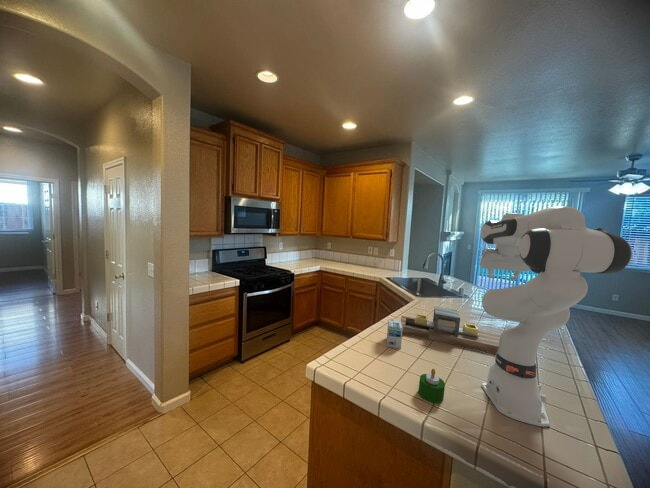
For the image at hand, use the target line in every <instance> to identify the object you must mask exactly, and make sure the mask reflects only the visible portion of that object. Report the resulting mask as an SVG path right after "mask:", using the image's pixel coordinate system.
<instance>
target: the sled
mask: <svg viewBox="0 0 650 488" xmlns="http://www.w3.org/2000/svg"><path fill="white" fill-rule="evenodd" d="M415 318H416V319H415V325H420V326H425V327H430V328H434V321H435V320H434V321H433V320H432V322H429V321H430V320H428V316H427V315H422V314H419V313H418V314H417V313H416V316H415ZM455 326H456V324H455ZM462 327H463V328H459V333H460V334H465V335H470V336H475V337H479V335H478V330H479V328H478V326H477V325H476V324H471V323H465V322H463V326H462ZM437 330H440V331H445V332H449V333H454V334H455V328H450V327H445V326H440V325H437Z"/></svg>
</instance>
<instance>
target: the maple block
mask: <svg viewBox="0 0 650 488" xmlns="http://www.w3.org/2000/svg"><path fill="white" fill-rule="evenodd" d="M438 325H440V326H445V327H450V328H455V320H452V319H447V318H441V317H438Z"/></svg>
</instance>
